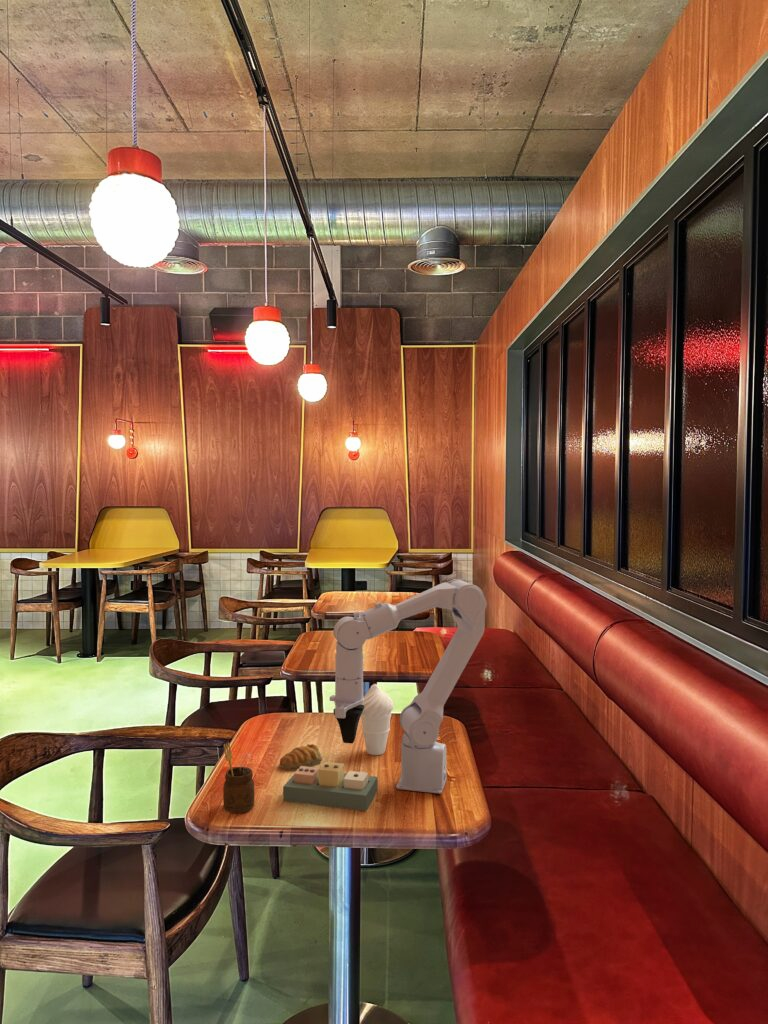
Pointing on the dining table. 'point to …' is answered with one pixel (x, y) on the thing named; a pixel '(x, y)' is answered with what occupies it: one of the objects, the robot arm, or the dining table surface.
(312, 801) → the toy block sorting board
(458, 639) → the robot arm
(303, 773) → the toy block
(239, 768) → the utensil holder
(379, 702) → the soft serve ice cream cone
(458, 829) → the dining table surface
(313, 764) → the pastry
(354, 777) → the toy block
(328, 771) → the toy block
